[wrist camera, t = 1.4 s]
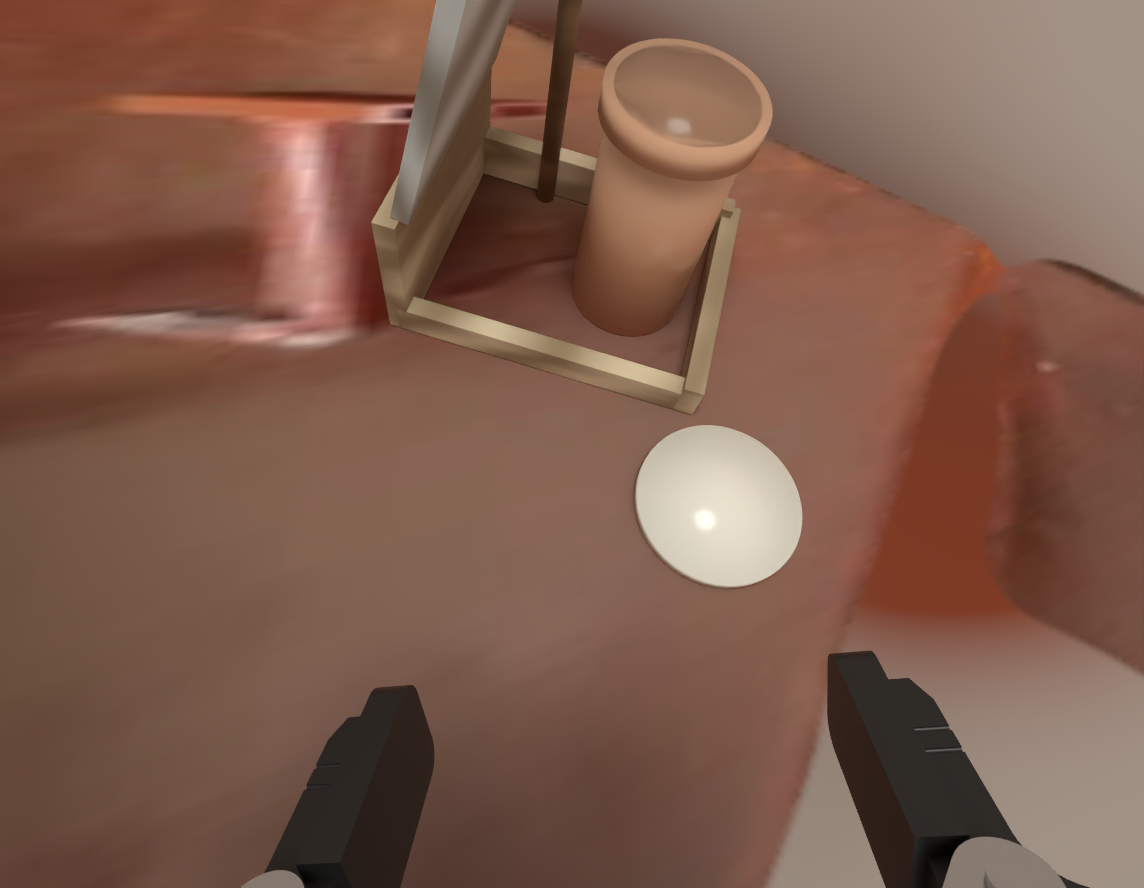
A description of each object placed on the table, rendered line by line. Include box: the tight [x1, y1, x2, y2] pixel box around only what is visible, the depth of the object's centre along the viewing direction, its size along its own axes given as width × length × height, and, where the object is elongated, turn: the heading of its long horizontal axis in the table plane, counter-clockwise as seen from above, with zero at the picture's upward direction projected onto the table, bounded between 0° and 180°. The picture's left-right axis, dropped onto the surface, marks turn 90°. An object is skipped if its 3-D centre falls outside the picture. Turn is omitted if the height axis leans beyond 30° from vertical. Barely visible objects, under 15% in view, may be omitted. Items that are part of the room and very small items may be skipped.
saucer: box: [634, 425, 802, 589], centre depth 31 cm, size 8×8×1 cm
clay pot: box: [572, 38, 773, 336], centre depth 31 cm, size 7×7×12 cm
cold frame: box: [371, 0, 741, 415], centre depth 26 cm, size 16×13×23 cm
